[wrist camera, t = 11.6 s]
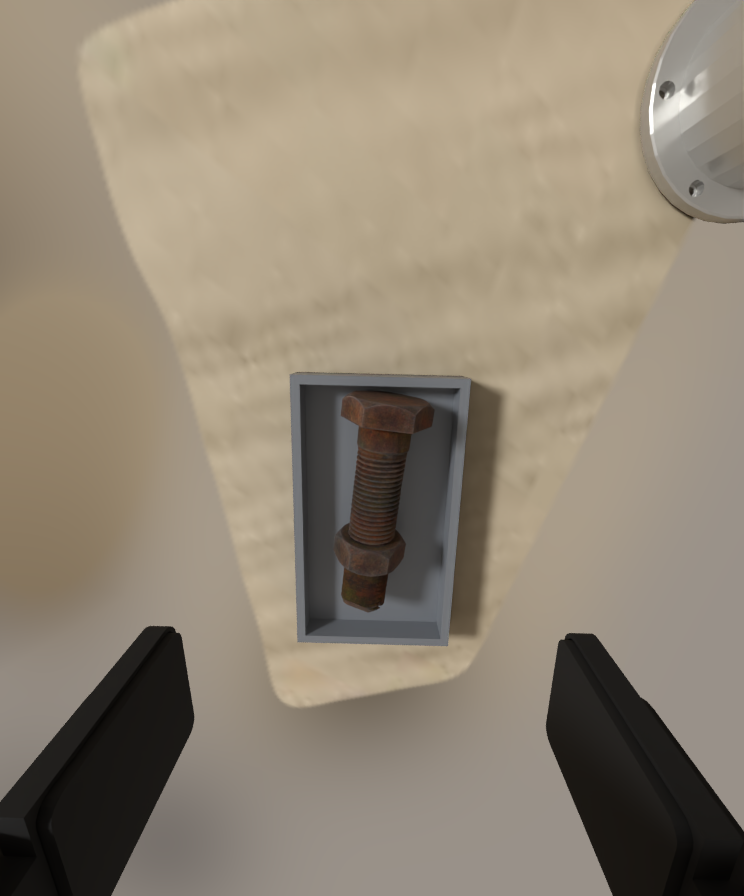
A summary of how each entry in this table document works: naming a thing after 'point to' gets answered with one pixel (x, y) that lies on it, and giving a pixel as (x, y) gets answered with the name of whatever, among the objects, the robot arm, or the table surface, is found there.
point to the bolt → (376, 491)
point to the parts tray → (418, 520)
